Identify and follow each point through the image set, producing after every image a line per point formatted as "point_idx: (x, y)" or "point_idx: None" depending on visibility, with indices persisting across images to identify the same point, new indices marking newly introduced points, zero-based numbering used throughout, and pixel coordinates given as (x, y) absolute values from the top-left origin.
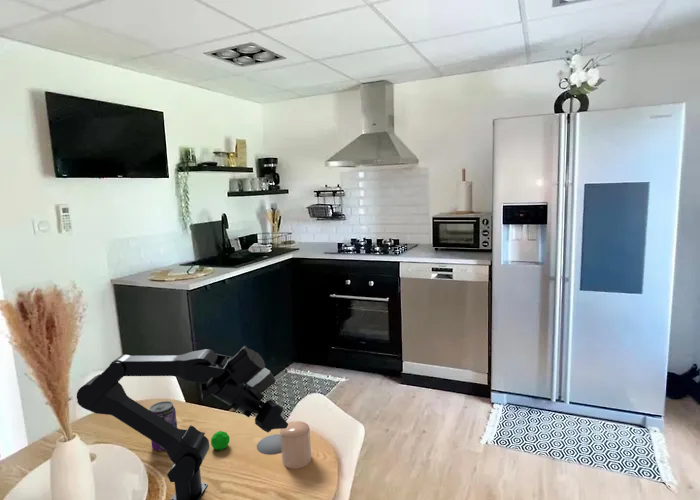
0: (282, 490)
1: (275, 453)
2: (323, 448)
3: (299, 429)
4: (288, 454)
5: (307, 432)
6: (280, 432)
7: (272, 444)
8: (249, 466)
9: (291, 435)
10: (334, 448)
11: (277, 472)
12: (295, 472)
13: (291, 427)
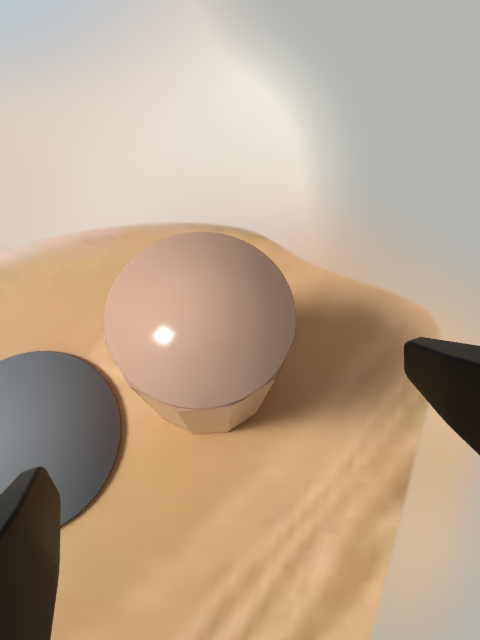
0: (384, 475)
1: (111, 451)
2: None
3: (225, 288)
4: (260, 402)
5: (263, 258)
6: (185, 409)
7: (24, 450)
8: (142, 610)
9: (276, 350)
10: (197, 223)
11: (254, 471)
12: (285, 396)
13: (174, 327)
